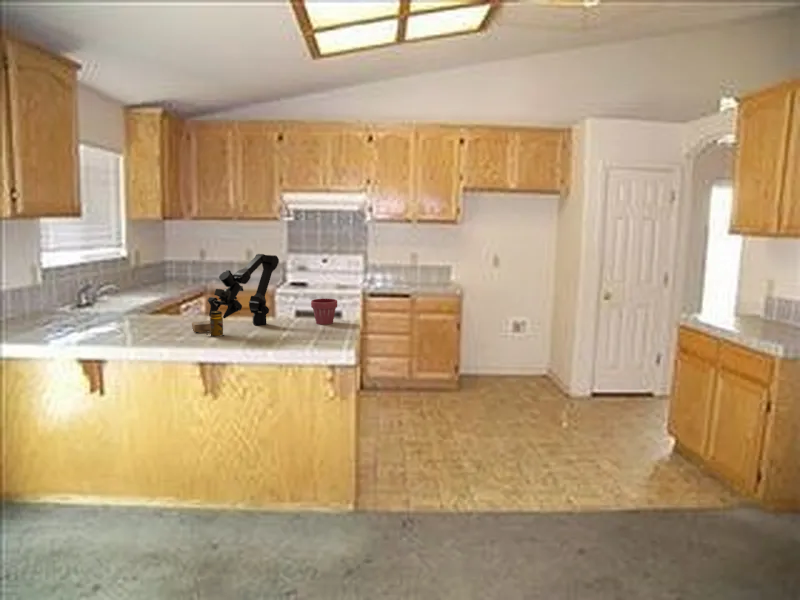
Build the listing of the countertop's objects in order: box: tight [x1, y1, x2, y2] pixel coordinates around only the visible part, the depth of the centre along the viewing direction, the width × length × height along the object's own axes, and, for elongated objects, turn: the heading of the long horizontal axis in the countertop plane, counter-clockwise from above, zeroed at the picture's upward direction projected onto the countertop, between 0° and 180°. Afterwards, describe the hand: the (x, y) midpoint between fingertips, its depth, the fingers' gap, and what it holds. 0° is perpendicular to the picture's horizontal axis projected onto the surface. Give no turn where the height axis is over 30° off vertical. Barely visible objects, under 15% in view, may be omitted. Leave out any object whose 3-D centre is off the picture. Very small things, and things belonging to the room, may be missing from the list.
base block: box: [191, 320, 211, 333], centre depth 334 cm, size 9×9×4 cm
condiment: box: [204, 310, 224, 337], centre depth 322 cm, size 7×8×12 cm
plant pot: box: [310, 298, 338, 326], centre depth 357 cm, size 14×14×13 cm
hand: (216, 317), depth 323 cm, fingers open, 9 cm apart
